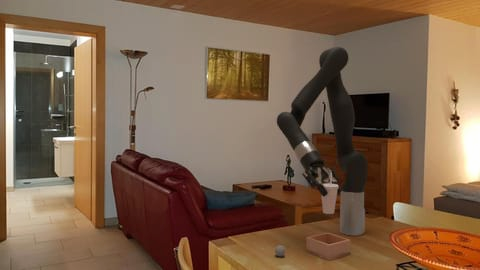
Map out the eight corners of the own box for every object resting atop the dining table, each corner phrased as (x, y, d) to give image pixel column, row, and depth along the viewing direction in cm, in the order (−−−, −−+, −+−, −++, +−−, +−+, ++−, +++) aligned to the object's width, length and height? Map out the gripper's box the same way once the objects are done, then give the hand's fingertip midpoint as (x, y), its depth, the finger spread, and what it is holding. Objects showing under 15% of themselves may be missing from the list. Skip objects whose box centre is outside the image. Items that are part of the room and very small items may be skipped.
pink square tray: (327, 245, 145) (327, 232, 145) (350, 254, 137) (350, 239, 136) (306, 251, 139) (306, 237, 139) (329, 260, 130) (329, 245, 130)
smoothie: (338, 215, 133) (339, 174, 133) (319, 214, 135) (319, 173, 134) (337, 210, 140) (338, 171, 139) (319, 209, 141) (320, 170, 140)
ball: (280, 253, 137) (280, 243, 137) (287, 256, 134) (287, 246, 134) (272, 255, 135) (272, 245, 135) (279, 258, 132) (279, 248, 132)
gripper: (299, 150, 138) (324, 189, 129) (327, 148, 146) (352, 185, 137) (288, 164, 143) (312, 202, 134) (316, 161, 151) (340, 198, 142)
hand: (332, 193), depth 135 cm, fingers closed on smoothie, 6 cm apart
